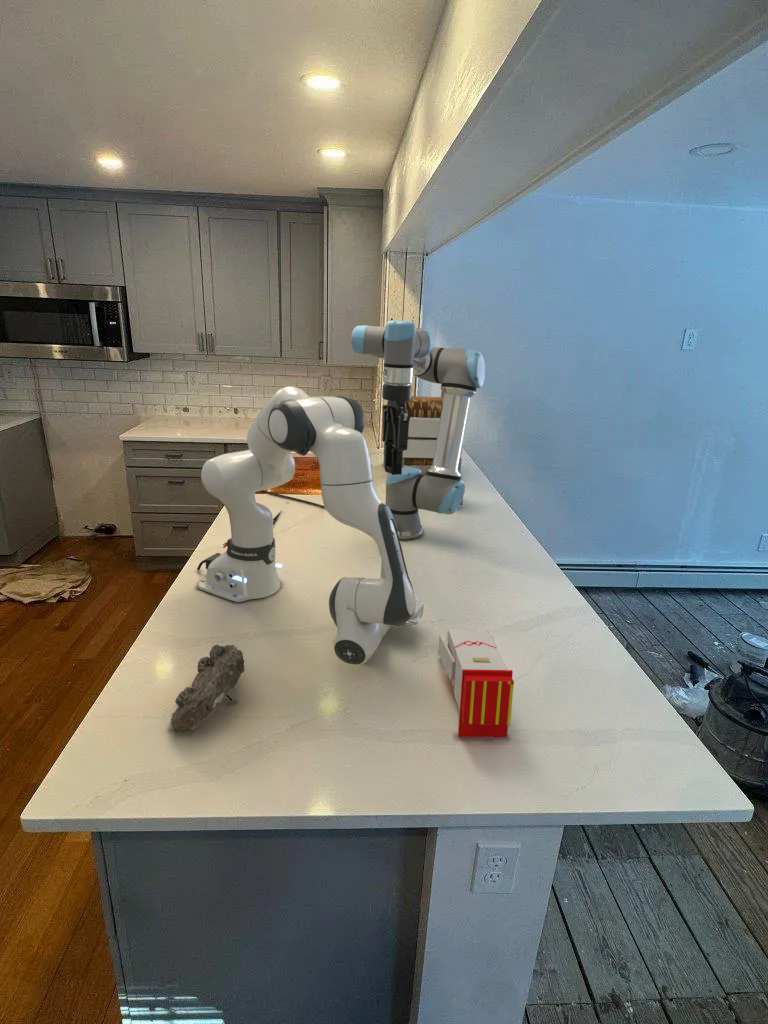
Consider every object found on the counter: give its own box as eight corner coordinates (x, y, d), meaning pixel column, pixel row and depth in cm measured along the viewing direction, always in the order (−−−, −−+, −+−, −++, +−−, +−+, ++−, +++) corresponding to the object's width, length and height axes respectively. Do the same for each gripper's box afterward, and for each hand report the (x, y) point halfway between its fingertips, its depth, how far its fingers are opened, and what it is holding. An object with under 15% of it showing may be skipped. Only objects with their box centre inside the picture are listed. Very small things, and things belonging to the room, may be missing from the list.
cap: (401, 469, 155) (401, 463, 154) (400, 474, 151) (400, 467, 150) (385, 468, 155) (385, 462, 155) (384, 473, 151) (384, 466, 151)
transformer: (382, 463, 289) (386, 382, 275) (445, 464, 293) (451, 384, 279) (390, 482, 257) (394, 392, 243) (460, 483, 261) (468, 394, 247)
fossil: (195, 646, 122) (244, 615, 117) (225, 676, 125) (275, 646, 120) (147, 725, 102) (204, 691, 98) (185, 758, 105) (242, 726, 100)
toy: (488, 613, 130) (523, 677, 101) (484, 667, 133) (517, 744, 104) (435, 612, 130) (455, 676, 101) (432, 666, 133) (451, 743, 103)
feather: (288, 505, 226) (290, 501, 226) (271, 529, 199) (273, 524, 199) (284, 503, 226) (287, 499, 225) (266, 526, 199) (269, 522, 199)
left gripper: (416, 614, 129) (430, 588, 142) (334, 597, 135) (354, 574, 148) (415, 638, 132) (429, 610, 144) (333, 621, 137) (353, 595, 150)
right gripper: (372, 379, 151) (369, 464, 159) (396, 388, 136) (392, 481, 144) (397, 379, 154) (393, 463, 162) (424, 388, 139) (418, 479, 147)
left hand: (390, 591), depth 146 cm, fingers closed on bottle, 5 cm apart
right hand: (392, 471), depth 153 cm, fingers closed on cap, 4 cm apart
